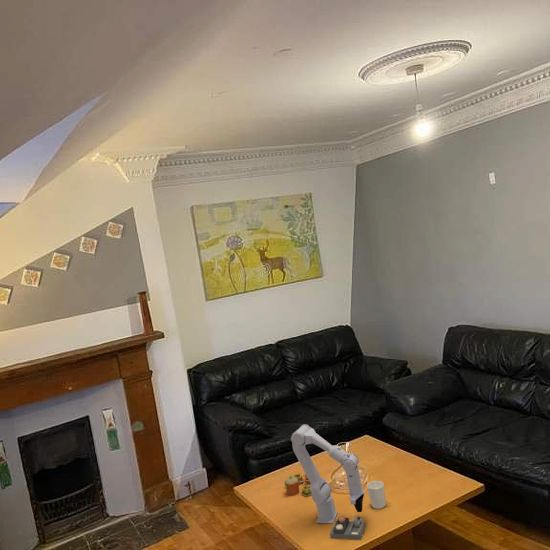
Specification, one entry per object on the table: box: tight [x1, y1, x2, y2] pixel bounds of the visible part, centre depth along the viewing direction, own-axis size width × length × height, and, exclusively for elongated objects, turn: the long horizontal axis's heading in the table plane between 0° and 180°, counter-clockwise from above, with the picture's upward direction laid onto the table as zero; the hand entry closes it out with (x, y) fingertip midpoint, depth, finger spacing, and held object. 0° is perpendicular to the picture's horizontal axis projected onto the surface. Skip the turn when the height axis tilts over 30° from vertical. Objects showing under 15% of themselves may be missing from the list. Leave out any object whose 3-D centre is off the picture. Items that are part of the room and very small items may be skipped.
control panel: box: [329, 517, 367, 540], centre depth 232 cm, size 10×14×4 cm
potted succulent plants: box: [283, 472, 312, 497], centre depth 282 cm, size 26×16×10 cm, turn 167°
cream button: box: [336, 524, 343, 530], centre depth 230 cm, size 3×3×2 cm
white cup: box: [366, 480, 387, 510], centre depth 249 cm, size 8×8×10 cm
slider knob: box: [352, 516, 363, 527], centre depth 232 cm, size 3×3×3 cm
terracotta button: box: [337, 515, 346, 523], centre depth 235 cm, size 3×3×2 cm
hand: (359, 511), depth 237 cm, fingers closed
